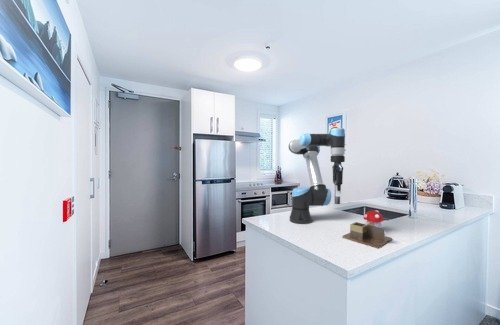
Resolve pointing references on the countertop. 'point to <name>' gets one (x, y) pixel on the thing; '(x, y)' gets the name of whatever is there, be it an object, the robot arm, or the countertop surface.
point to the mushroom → (374, 218)
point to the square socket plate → (367, 234)
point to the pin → (337, 199)
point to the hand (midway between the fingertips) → (337, 195)
